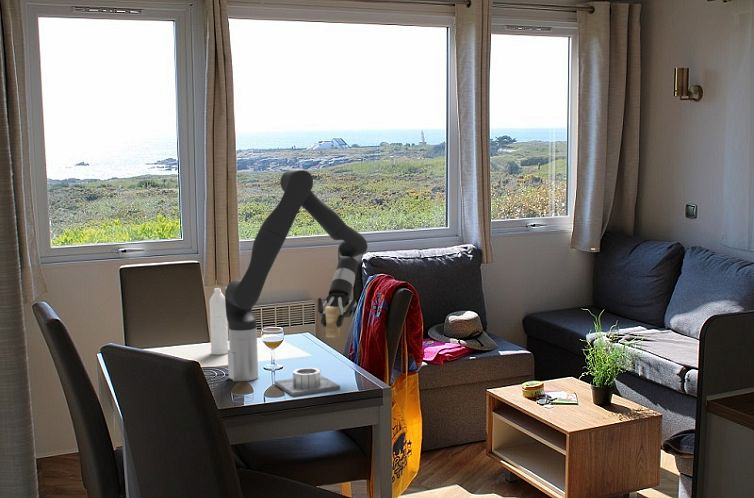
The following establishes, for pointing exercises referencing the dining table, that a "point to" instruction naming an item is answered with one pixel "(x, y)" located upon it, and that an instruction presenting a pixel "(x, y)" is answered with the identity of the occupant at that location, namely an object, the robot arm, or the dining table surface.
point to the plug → (332, 322)
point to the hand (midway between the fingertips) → (330, 325)
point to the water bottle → (218, 323)
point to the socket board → (306, 382)
